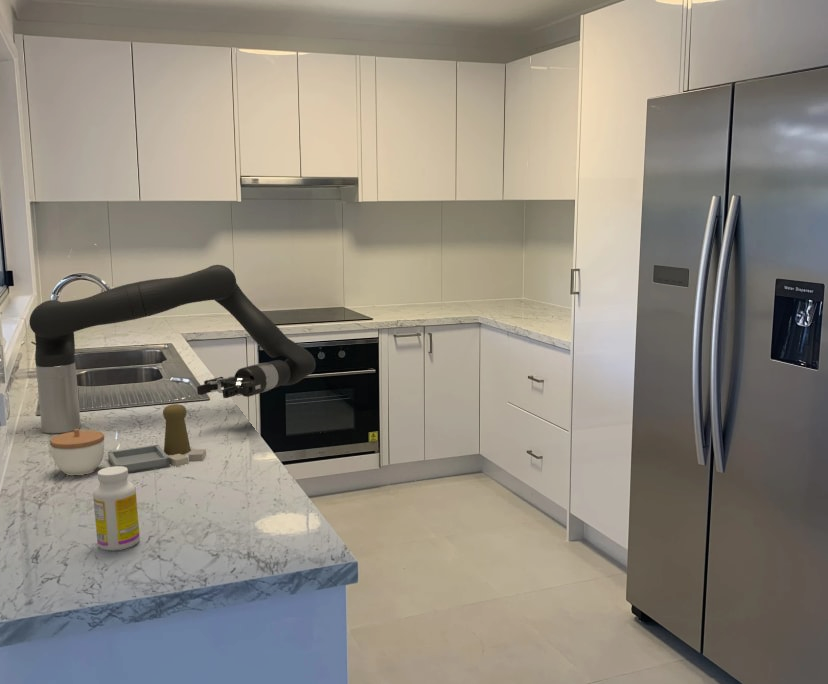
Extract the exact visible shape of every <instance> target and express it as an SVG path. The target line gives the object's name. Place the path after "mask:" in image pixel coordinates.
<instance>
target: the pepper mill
mask: <svg viewBox="0 0 828 684" xmlns="http://www.w3.org/2000/svg"><path fill="white" fill-rule="evenodd" d="M162 415H163V418H164V419H165V430H164V445H163V451H164V452H165V453H166V454H167V456H171V455H175V454H181V455H185V454H189V453H190V452H191V451H192V450H191V449H192V448H191V445H190V444H191V443H190V439H189V435H188V430H187V426H186V425H187V424H186V420H185V418H186V416H187V409H186V407H185V406H184V405H183V404H178V403H177V404H169V405H166V406H165V407H164V408H163V410H162Z"/></svg>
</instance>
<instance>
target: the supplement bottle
mask: <svg viewBox="0 0 828 684" xmlns="http://www.w3.org/2000/svg"><path fill="white" fill-rule="evenodd" d="M128 477H129V474H128V469H127V468H126V467H122V466H115V467H112V466H108V467H103V468H102V469H100V470H98V471H97V480H98V482H99V484H98V485H97V486H96V487H95V488H94V490H93V493H92V496H93V497H92V499H93V507H94V510H93V511H94V518H95V519H94V520H95V529H96V531H95V532H96V538H97V539H96V540H97V546H98V547H99V548H100V549H101V550H104V551H108V550H112V551H111V552H114V551H121V550H122V551H123V550H126V549H129V548H132V547H133V546H135V545H137V543H138V542H140V541H139V540H140V538H141V537H140V525H139V524H140V523H139V512H138V501H137V491H136V486H135V484H134V483H132V481H129V480H128Z"/></svg>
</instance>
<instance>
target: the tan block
mask: <svg viewBox="0 0 828 684" xmlns="http://www.w3.org/2000/svg"><path fill="white" fill-rule="evenodd" d="M167 456H168V457H169V458H170V464H171V465H170V466H173V467H175V466H176V467H175V468H177V466H178V467H181V465H182V466H186V465H189V456H186V455H185V454H175V455H167ZM185 464H186V465H185Z"/></svg>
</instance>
